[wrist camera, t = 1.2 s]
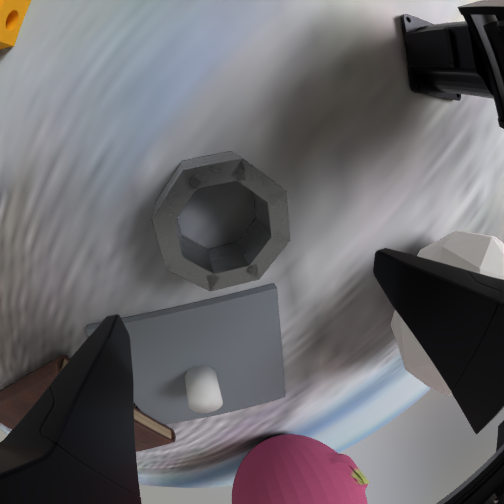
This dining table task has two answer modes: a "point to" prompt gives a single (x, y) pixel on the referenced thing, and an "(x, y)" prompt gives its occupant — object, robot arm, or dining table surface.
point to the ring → (232, 255)
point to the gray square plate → (207, 356)
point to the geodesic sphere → (462, 256)
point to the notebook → (33, 385)
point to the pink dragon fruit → (297, 474)
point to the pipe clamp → (11, 20)
